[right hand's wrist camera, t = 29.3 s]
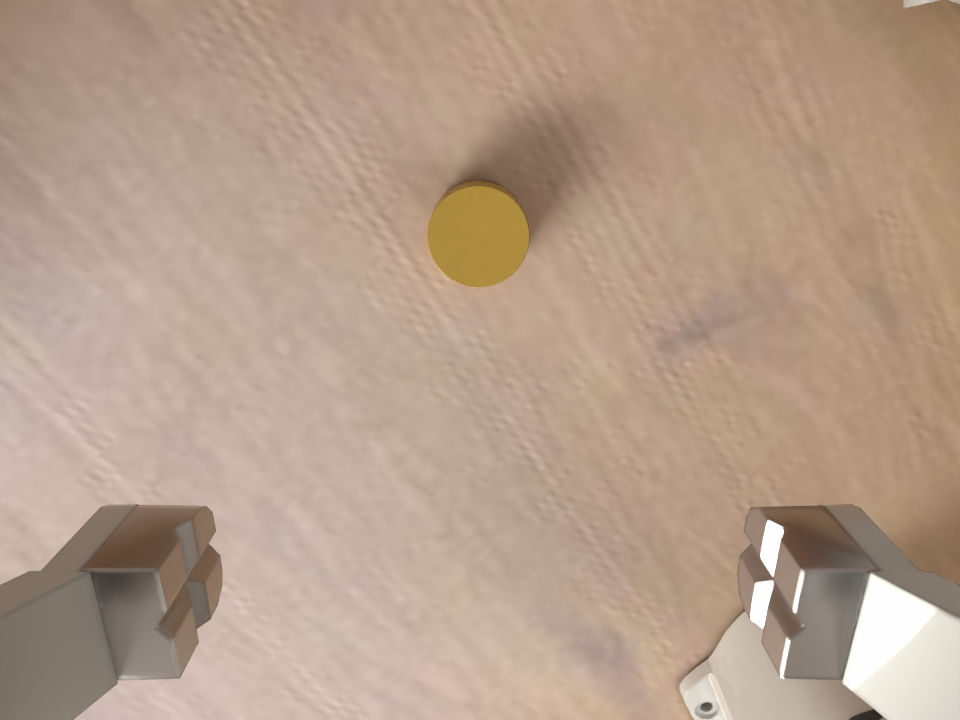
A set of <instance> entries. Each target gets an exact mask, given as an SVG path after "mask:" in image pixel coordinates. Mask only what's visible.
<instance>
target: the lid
mask: <svg viewBox="0 0 960 720" xmlns="http://www.w3.org/2000/svg"><path fill="white" fill-rule="evenodd" d="M427 238H428V246H429V250H430V254H431V256H432V258H433V260H434V262H435V264H436V265H437V267H438V268H439V269H440V270H441V271H442V272H443V273H444V274H445V275H446V276H447V277H449V278H450V279H451V280H453V281H455V282H457V283H460V284H462V285H466V286H470V287H486V286H491V285H495V284H497V283H500V282H502V281H504V280H505V279H507V278H508V277H510V276H511V275H512V274H513V273H514V272H515V271H516V270H517V269H518V268H519V266H520V265H521V263H522V262H523V260H524V258H525V255H526V253H527V250H528V245H529V227H528V223H527V220H526V217H525V214H524V212H523V210H522V207H521V205H520V204H519V202H518V201H517V199H516V198H515V197H514V196H513V195H512V194H511V193H510V192H509V191H508V190H506V189H505V188H503V187H502V186H500V185H497V184H495V183H492V182H488V181H469V182H465V183H462V184H459V185H457V186H455V187H454V188H452V189H450V190H449V191H448V192H447V193H446V194H445V195H444V196H443V197H442V198H441V199H440V200H439V202H438V203H437V205H436V207H435V209H434V211H433V214H432V216H431V219H430V222H429V226H428V234H427Z"/></svg>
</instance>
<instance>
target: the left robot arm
mask: <svg viewBox="0 0 960 720" xmlns="http://www.w3.org/2000/svg"><path fill="white" fill-rule="evenodd" d="M934 1H938V0H903V6H904V8H907V7H912V6H917V5H922V4H926V3H930V2H934ZM949 1H952V2H955V3H958V4H960V0H949ZM762 635H763V628H761V627H760V626H758V625H757V624H756V623H754V622H753V621H751V620H750V619H749V618H748V616H747V613H746V611H744V612H743V613H742V614H741V615H740V616H739V617H738V618H737V619H736V620H735V621H734V622H733V623H732V624H731V626H730V627H729V628H728V629H727V631H726V632H725V634H724V635H723V637H722V638H721V640H720V642H719V644H718V645H717V647H716V649H715V650H714V652H713V653H712V654H711V656H710V657H709V658H708V659H707V660H705V661H704V662H703V663H701V664H700V665H699V666H697V667H696V668H695V669H694V670H692V671H691V672H690V673H689V674H688V675H687V676H686V677H685V678H684V679H683V680H682V681H681V683H680V687H679V689H680V693H681V695H682V697H683V699H684V701H685V703H686V706H687V707H688V709H689V711H690V713H691V715H692V717H693V719H694V720H887V719H886V718H884V717H883V716H882V715H881V714H879V713H878V712H877V711H876V710H875V709H873V708H872V707H871V706H870V705H868V704H867V703H866V702H865V701H864V700H862V699H861V698H860V697H859V696H857V695H856V694H855V693H854V692H852V691H851V690H850V689H849V688H848V687H846V686H845V685H844V684H843V683H842V682H843V680H817V679H781V678H780V677H779V675H778V673H777V671H776V669H775V667H774V665H773V664H772V662H771V660H770V658H769V656H768V654H767V652H766V650H765V648H764V647H763V645H762V643H761V640H762Z"/></svg>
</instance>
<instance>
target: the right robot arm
mask: <svg viewBox="0 0 960 720" xmlns="http://www.w3.org/2000/svg"><path fill="white" fill-rule="evenodd" d="M215 532H216V527H215V523H214V518H213V513H212V511H211V510H210V509H209V508H208V507H207V506H177V505H141V506H140V505H137V504H134V505H107V506H103V507H100V508H99V509H98V510H97V512H96V513H95V514H94V515H93V516H92V517H91V518H90V519H89V520H88V521H87V522H86V523H85V524H84V525H83V526H82V528H81V529H80V530H79V531H78V532H77V533H76V534H75V535H74V536H73V537H72V538H71V539H70V540H69V541H68V542H67V543H66V545H65V546H64V547H63V548H62V549H61V550H60V551H59V552H58V553H57V554H56V555H55V556H54V557H53V558H52V559H51V560H50V562H49V563H48V564H47V565H46V566H45V567H44V568H43V569H42V570H41V571H29V572H27V573H25V574H23V575H20V576H18V577H16V578H14V579H12V580H10V581H8V582H6V583H4V584H2V585H0V720H73V719H75V718H76V717H77V716H78V715H80V714H81V713H82V712H83V711H84V710H86V709H87V708H88V707H89V706H91V705H92V704H93V703H94V702H96V701H97V700H98V699H99V698H100V697H102V696H103V695H104V694H105V693H107V692H108V691H109V690H110V689H111V688H113V687H114V686H115V685H116V684H117V683H118V682H117V680H142V679H177V678H180V677H181V675H182V673H183V671H184V669H185V667H186V666H187V664H188V662H189V660H190V658H191V656H192V654H193V652H194V650H195V648H196V647H197V645H198V643H199V640H198V635H197V628H199V627H200V626H202V625H203V624H204V623H206V622H207V621H209V620H210V619H211V618H212V615H213V613H214V611H215V609H216V607H217V605H218V602H219V597H220V593H221V588H222V563H221V557H220V555H219V554H218V553H217V552H216V551H215V550H214V549H213V548H212V547H211V546H210V545H209V544H208V543H209V542H210V540H211V538H212V537H213V535H214V533H215ZM744 532H745V533H746V535H747V537H748V538H749V540H750V542H751V543H752V544H751V545H750V546H749V547H748V548H747V549H746V550H745V551H744V552H743V553H742V554H741V555H740V557H739V565H738V573H737V577H738V588H739V595H740V598H741V601H742V605H743V607H744V609H745V611H746V613H747V616H748V618H749V619H750V620H751V621H753V622H754V623H756V624H757V625H758V626H760V627H761V628H763V635H762V640H761V643H762V645H763V647H764V648H765V650H766V652H767V654H768V656H769V658H770V660H771V662H772V664H773V665H774V667H775V669H776V671H777V673H778V675H779V677H780V678H781V679H817V680H843V682H842V683H843V684H844V685H845V686H846V687H848V688H849V689H850V690H851V691H852V692H854V693H855V694H856V695H857V696H859V697H860V698H861V699H862V700H864V701H865V702H866V703H867V704H868V705H870V706H871V707H872V708H873V709H875V710H876V711H877V712H878V713H879V714H881V715H882V716H883V717H884V718H886V719H887V720H960V585H958V584H956V583H954V582H952V581H950V580H948V579H946V578H944V577H942V576H939V575H937V574H935V573H933V572H931V571H919V570H918V569H917V568H916V567H915V566H914V565H913V564H912V563H911V561H910V560H909V559H908V558H907V557H906V556H905V555H904V554H903V553H902V552H901V551H900V550H899V549H898V548H897V547H896V546H895V544H894V543H893V542H892V541H891V540H890V539H889V538H888V537H887V536H886V535H885V534H884V533H883V532H882V531H881V530H880V528H879V527H878V526H877V525H876V524H875V523H874V522H873V521H872V520H871V519H870V518H869V517H868V516H867V515H866V514H865V513H864V511H863V510H862V509H861V508H859V507H857V506H855V505H852V504H841V505H818V506H782V507H751V508H750V510H749V512H748V514H747V516H746V521H745V527H744Z"/></svg>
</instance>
